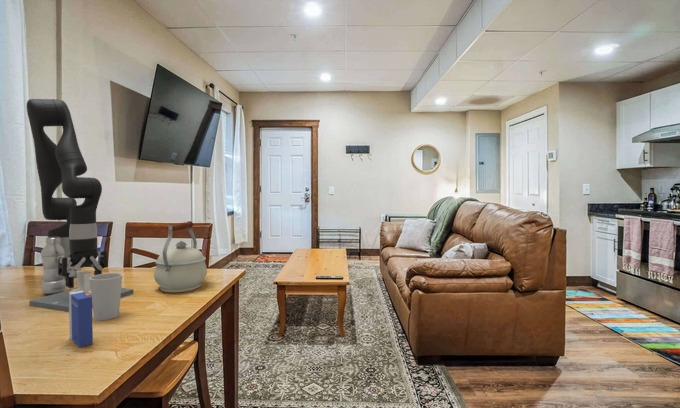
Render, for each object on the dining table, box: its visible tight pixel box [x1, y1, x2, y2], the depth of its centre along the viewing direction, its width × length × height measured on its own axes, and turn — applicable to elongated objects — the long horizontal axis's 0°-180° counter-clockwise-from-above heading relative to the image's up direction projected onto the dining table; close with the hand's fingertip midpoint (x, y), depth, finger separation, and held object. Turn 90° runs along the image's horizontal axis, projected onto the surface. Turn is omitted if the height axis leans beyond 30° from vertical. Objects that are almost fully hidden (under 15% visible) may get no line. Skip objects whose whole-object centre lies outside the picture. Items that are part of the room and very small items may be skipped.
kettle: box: [153, 220, 208, 294], centre depth 130 cm, size 25×18×25 cm
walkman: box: [68, 291, 94, 348], centre depth 83 cm, size 8×3×12 cm, turn 52°
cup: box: [89, 272, 123, 321], centre depth 99 cm, size 8×8×12 cm
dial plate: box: [29, 287, 135, 313], centre depth 114 cm, size 20×20×2 cm
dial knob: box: [69, 270, 93, 296], centre depth 112 cm, size 12×8×8 cm, turn 55°
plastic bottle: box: [40, 236, 67, 295], centre depth 119 cm, size 6×7×20 cm
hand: (84, 284), depth 113 cm, fingers open, 8 cm apart
